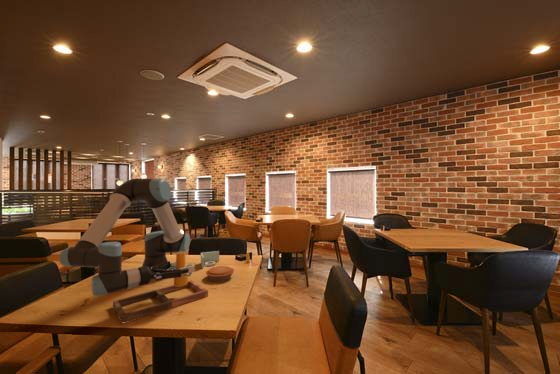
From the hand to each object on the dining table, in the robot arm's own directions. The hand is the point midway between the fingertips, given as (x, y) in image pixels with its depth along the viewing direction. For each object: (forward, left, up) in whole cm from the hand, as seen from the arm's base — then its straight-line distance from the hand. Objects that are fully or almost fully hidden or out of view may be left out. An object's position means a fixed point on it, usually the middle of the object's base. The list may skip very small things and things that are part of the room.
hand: (189, 265), depth 119 cm
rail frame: (0, -12, -13) cm, 18 cm away
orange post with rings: (0, -4, -8) cm, 9 cm away
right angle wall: (-33, +29, -14) cm, 46 cm away
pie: (-8, +21, -14) cm, 27 cm away
